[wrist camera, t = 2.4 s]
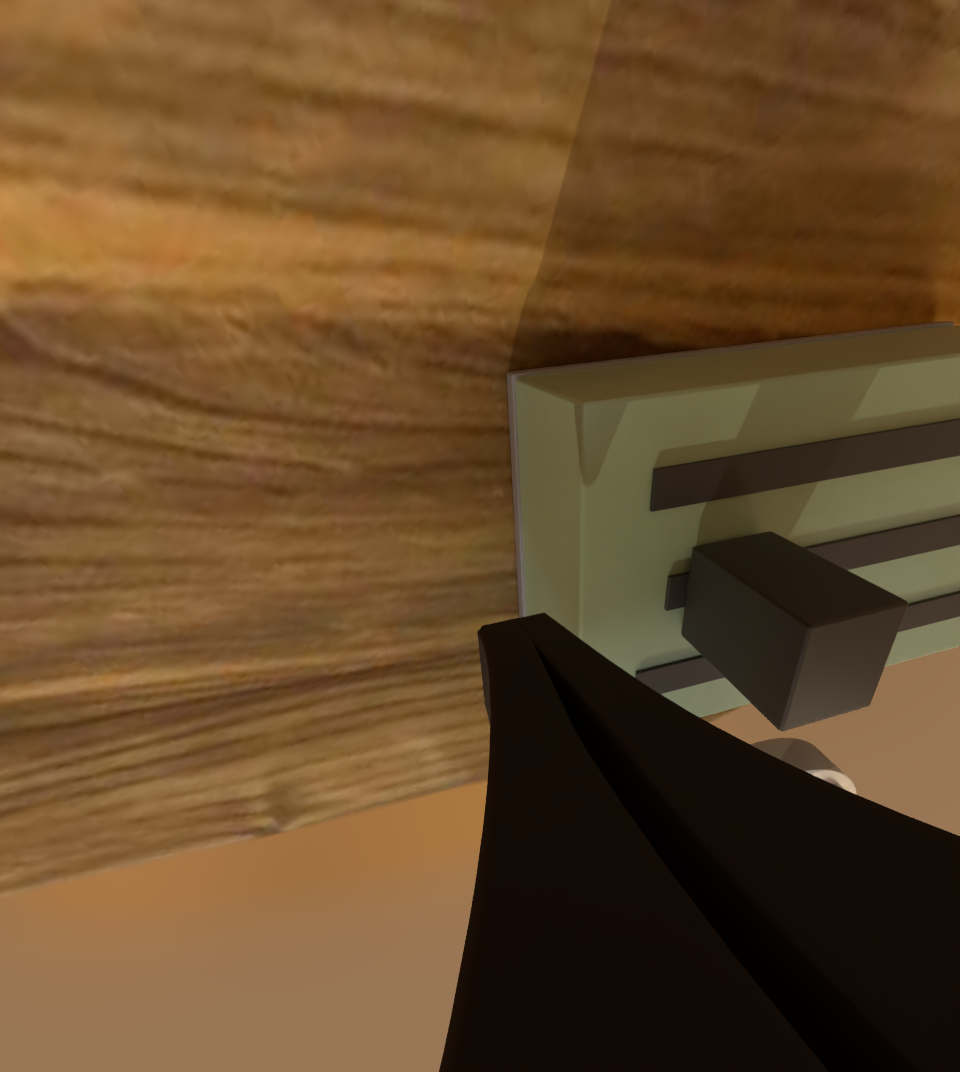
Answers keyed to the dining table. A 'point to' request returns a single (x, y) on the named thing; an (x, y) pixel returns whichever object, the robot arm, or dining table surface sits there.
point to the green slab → (737, 485)
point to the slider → (789, 627)
